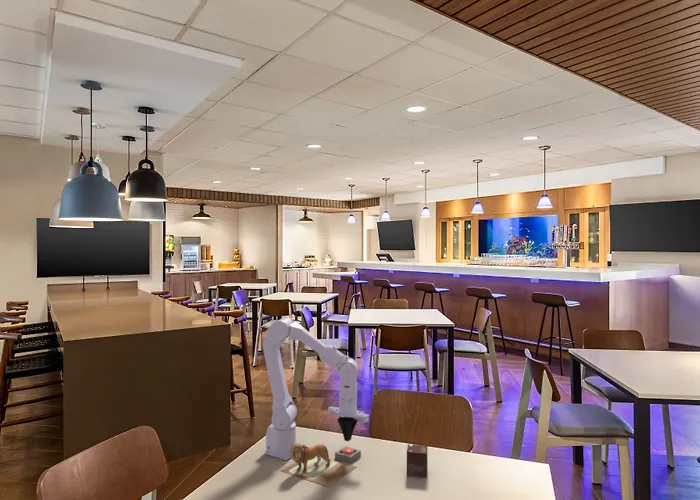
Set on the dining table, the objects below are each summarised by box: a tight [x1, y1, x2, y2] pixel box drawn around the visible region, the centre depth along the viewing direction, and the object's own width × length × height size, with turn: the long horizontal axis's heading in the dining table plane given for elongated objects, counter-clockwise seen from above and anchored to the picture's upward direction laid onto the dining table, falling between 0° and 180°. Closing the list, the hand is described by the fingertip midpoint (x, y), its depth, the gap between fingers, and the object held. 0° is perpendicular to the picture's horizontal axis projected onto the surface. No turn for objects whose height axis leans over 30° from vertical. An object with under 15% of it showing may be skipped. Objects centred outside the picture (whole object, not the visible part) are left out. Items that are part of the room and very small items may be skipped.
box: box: [406, 443, 429, 479], centre depth 144 cm, size 6×6×7 cm
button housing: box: [334, 446, 362, 464], centre depth 154 cm, size 6×6×2 cm
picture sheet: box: [279, 456, 357, 488], centre depth 146 cm, size 18×15×1 cm
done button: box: [342, 447, 354, 455], centre depth 154 cm, size 4×4×2 cm
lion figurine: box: [290, 443, 331, 473], centre depth 146 cm, size 15×5×9 cm, turn 131°
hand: (347, 439), depth 154 cm, fingers closed
